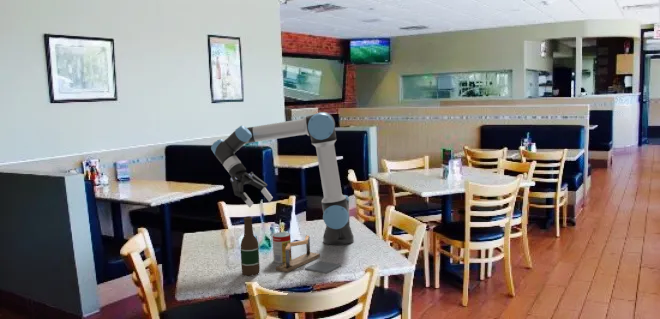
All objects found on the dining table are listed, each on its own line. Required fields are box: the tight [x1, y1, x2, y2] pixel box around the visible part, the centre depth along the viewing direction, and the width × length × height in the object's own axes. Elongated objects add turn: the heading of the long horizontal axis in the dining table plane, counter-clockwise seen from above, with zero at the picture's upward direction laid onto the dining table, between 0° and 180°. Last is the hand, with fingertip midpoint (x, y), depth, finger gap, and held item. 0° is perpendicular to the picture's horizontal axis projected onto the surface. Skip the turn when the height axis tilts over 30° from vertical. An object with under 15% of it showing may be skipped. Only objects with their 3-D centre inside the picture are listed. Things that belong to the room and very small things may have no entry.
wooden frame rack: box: [275, 235, 321, 273], centre depth 249 cm, size 24×6×10 cm, turn 146°
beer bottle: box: [240, 215, 261, 277], centre depth 237 cm, size 8×8×24 cm
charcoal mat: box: [304, 260, 342, 274], centre depth 242 cm, size 11×11×1 cm
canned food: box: [272, 231, 293, 264], centre depth 254 cm, size 8×8×12 cm
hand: (261, 202), depth 257 cm, fingers open, 13 cm apart
